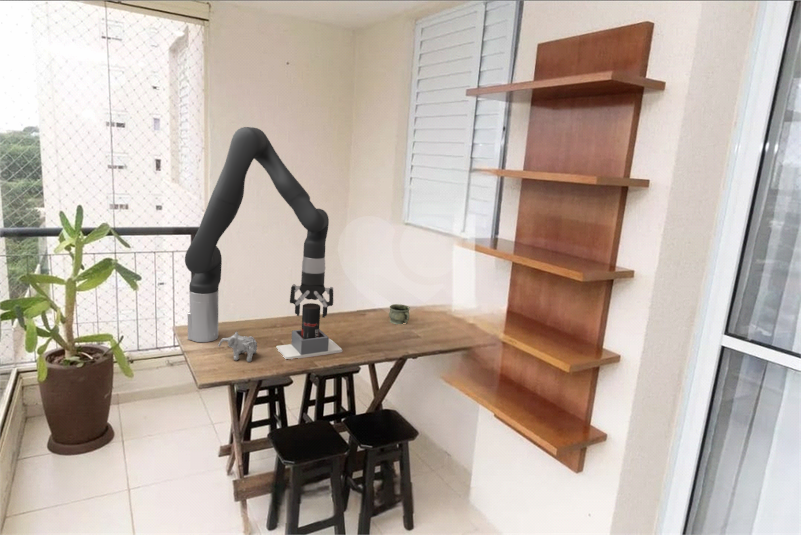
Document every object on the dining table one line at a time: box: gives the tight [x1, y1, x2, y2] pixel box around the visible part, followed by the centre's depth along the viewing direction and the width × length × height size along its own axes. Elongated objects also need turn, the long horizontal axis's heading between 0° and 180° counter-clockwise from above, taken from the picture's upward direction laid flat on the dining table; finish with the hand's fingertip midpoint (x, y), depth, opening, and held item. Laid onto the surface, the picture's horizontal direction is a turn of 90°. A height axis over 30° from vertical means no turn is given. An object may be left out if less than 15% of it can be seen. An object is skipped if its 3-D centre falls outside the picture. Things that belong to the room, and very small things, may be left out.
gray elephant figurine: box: [217, 331, 258, 363], centre depth 162 cm, size 9×12×8 cm
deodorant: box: [301, 302, 321, 339], centre depth 171 cm, size 6×6×15 cm
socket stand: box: [275, 328, 343, 360], centre depth 172 cm, size 20×10×6 cm, turn 121°
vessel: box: [388, 303, 411, 325], centre depth 209 cm, size 12×9×6 cm
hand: (311, 316), depth 170 cm, fingers open, 8 cm apart
